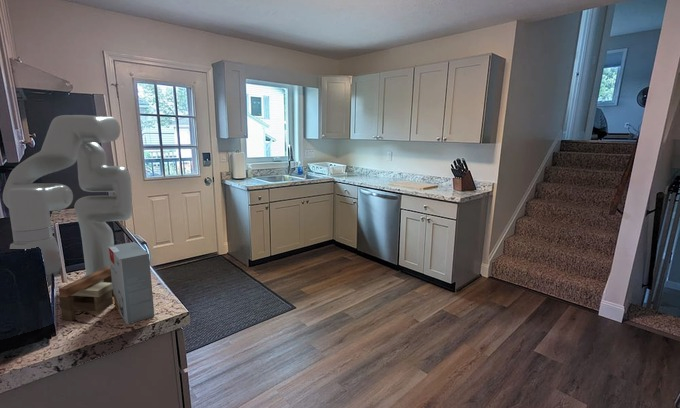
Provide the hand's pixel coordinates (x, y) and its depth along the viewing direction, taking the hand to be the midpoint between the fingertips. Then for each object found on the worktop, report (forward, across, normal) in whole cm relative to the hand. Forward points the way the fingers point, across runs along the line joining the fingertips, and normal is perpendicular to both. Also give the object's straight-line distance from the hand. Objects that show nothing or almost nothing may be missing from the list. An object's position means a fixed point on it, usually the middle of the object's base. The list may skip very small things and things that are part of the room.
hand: (42, 301), depth 89 cm
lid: (+4, -15, 0) cm, 15 cm away
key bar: (+1, -15, 0) cm, 15 cm away
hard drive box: (+9, -14, +15) cm, 22 cm away
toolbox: (+9, -15, 0) cm, 17 cm away
